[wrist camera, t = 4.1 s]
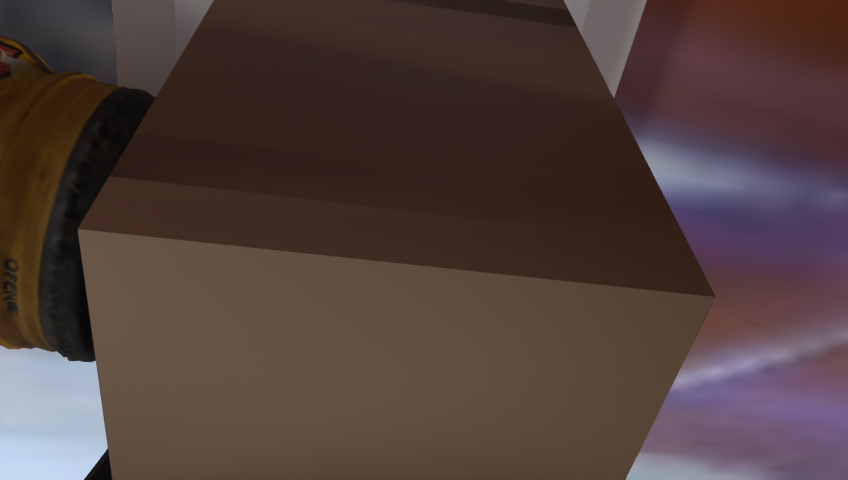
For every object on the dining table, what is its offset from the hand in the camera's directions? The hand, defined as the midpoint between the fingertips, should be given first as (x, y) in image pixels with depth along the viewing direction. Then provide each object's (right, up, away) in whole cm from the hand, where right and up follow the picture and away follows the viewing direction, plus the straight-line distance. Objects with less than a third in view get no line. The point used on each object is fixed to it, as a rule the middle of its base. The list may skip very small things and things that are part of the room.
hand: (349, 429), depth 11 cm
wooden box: (0, +1, +2) cm, 2 cm away
